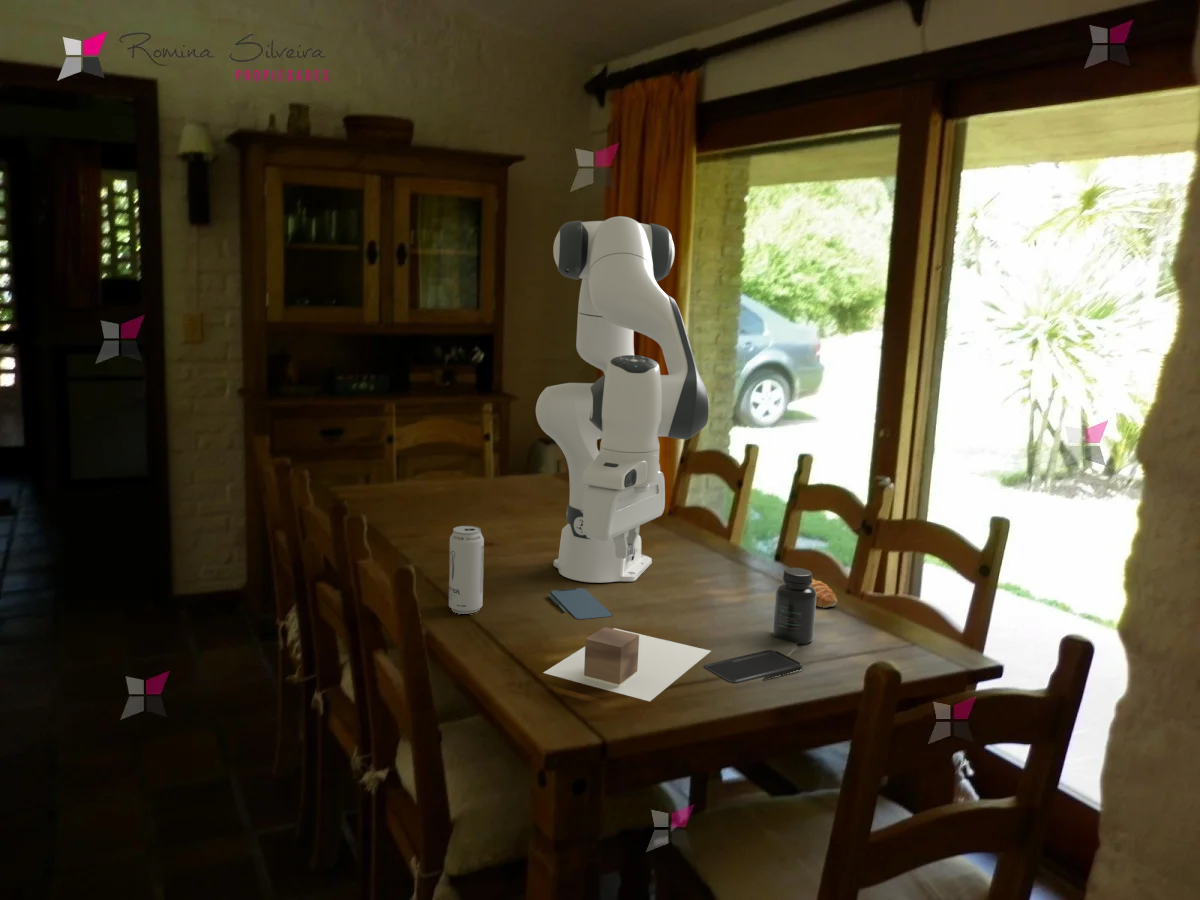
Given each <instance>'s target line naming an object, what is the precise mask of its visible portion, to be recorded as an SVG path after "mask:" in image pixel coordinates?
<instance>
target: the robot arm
mask: <svg viewBox="0 0 1200 900" xmlns="http://www.w3.org/2000/svg"><path fill="white" fill-rule="evenodd" d="M672 235H673V234H672V233H671V232H670V230H669V229H668V228H667V227H665V226H663V225H660V224H656V223H649V224H647V223H640V222H639V221H637V220H636V219H633V218H631V217H629V216H613V217H610V218H608V219H605V220H592V221H581V220H573V221H568V222H564V224H562V225H561V226H560V227H559V229H558V232H557V234H556V236H555V237H554V242H553V249H552V250H553V259H554V261H555V264H556V267H557V271H558V272H559V273H560V275H562V276H563V277H565V278H568V279H572V280H577V281H578V280H579V279H580V280H581V279H582V280H581V285H580V289H579V295H578V296H579V297H578V306H577V307H578V309H577V321H576V322H577V325H576V340H575V342H576V344H575V347H576V352H577V353H578V355H579V357H580V358H581V359H583V360H584V361H585V363H588V364H589V365H591V366H594V367H595V368H597V369H599V370H601V371H602V372H603V374H604V375H602V376H601V377H599V378H598V379H597V380H596V381H595V382H593V383H592V382H590V383H589V382H588V383H587V382H567V383H560V384H555V385H550V386H546V387H545V388H544V389H543V391H541V393H540V394H539V396H538V399H537V401H536V406H535V416H536V421H537V423H538V426H539V427H540V428H541V430H542V431H543V432H544V433H545V434H546V435H547V436H549V437H550V438H551V439H552V440H553V441H554V442H555V443H556V444H557V445H558V447H559V448H560V449H561V451H562V453H563V454H564V457H565V459H566V463H567V468H568V478H569V502H568V504H567V505H566V506H567V507H566V513H565V514H566V520H565V521H566V522H567V524H566V525H565V526H564V527H562V529H561V536H560V543H559V551H558V558H556V559H554V560H553V564H552V565H553V567H555V568H557V569H558V573H559V574H560V575H562V577H565V578H567V579H569V580H573V581H578V582H584V583H597V584H598V583H600V584H601V583H614V582H635V581H637V580H638V578H639V577H640V576H641V575H642V574H643V573H644V572H645V571H646V570H647V569H648V568H649V567H650V566H651V564H652V563H653V561H652V557H649V556H648V555H645V554H643V553H642V537H641V536H640V531H641V530H640V526H641V525H644V524H646V523H648V522H651V521H653V520H655V519H656V518H657V519H658V518H660V517H661V516H662V515H663V513H664V510H665V506H666V505H665V504H666V498H665V497H666V489H665V487H666V485H665V483H666V481H665V476H664V472H662V471H661V465H660V446H661V445H660V441H659V437H665V438H666V437H667V438H671V439H677V440H678V439H679V440H685V441H688V440H689V439H691V438H694V436H696V435H697V434H698V433H700V432H701V431H702V430H703V429H704V428H705V427H706V425H708V421H709V414H710V401H709V396H708V393H707V389H706V386H705V383H704V381H703V379H702V377H701V375H700V372H699V370H698V366H697V363H696V360H695V357H694V356H695V355H694V353H693V350H692V346H691V342H690V340H689V336H688V333H687V328H686V326H685V322H684V319H683V317H682V314H681V311H680V309H679V306H678V304H677V301H676V300H675V298H673V297H672V296H670V295H668V294H667V293H666V292H665V291H664V290H663V289H662V288H661V287H660V286H659V284H658V282H659V281H662V280H663V279H664V278H666V277H667V276H668V275H669V274H670V271H671V268H672V266H673V264H674V260H675V255H676V254H675V253H676V251H675V250H676V249H675V244H674V241H673V237H672ZM634 332H637V333H639V334H642V335H644V336H646V337H648V338H650V339H652V340H653V341H655V342H656V343H657V344H658V345H659V347H660V348H661V350H662V355H663V357H664V362H665V364H666V368H667V372H668V374H661V368H660V364H659V363H658V362H657V361H655V360H654V359H652V358H649V357H646V356H642V355H636V354H635V347H634V343H635V342H634V340H635V339H634V335H635V334H634ZM598 440H601V441H600V445H599V449H598Z"/></svg>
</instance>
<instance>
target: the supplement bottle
mask: <svg viewBox="0 0 1200 900" xmlns="http://www.w3.org/2000/svg"><path fill="white" fill-rule="evenodd" d="M812 579H813V573H812V571H810V570H809V569H805V568H803V567H802V568H801V567H788V568H785V569H783V575H782V582H783V583H781V584H779V585H778V586H777V588H776V589H775V590H776V591H775V600H774V601H775V602H774V612H773V614H774V615H773V624H772V626H773V627H772V628H773V629H772V634H773V636H774V637H775V638H777V639H779V640H781V641H784V642H790V643H796V645H797V646H801V645H800V644H804V645H808V644H810V643H811V642H812V641H813V639H814V631H815V618H816V608H817V607H816V596H817V594H816V591H815V589H814V588H813V587H811V586H810V585H811V584H812ZM809 642H810V643H809ZM807 643H808V644H807ZM798 644H799V645H798Z"/></svg>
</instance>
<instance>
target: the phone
mask: <svg viewBox="0 0 1200 900" xmlns="http://www.w3.org/2000/svg"><path fill="white" fill-rule="evenodd" d="M803 667H804V665H803V663H802V662H800V661H798V660H796V659H794V658H792V657H790V656H788V655H785V654H784V653H781V652H779V651H778V650H775V649H766V650H763V651H757V652H754V653H748V654H744V655H740V656H736V657H735V656H734V657H732V658H727V659H726V658H725V659H722V660H718V661H714V662H710V663H709V662H708V663H705V664H704V665H703V669H705V670H707V671H709V672H710V673H712V674H714V675H716V676H718V677H719V678H721V679H722V680H725V681H726V682H728V683H732V684H740V683H745V682H748V681H752V680H756V679H761V678H762V680H763V681H766V680H765V679H767V680H770V679H769V678H771V679H773V678H772V677H775V676H779V675H783V674H787V673H790V672H793V671H796V670H800V669H802V670H803ZM775 678H776V677H775Z"/></svg>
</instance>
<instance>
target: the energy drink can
mask: <svg viewBox="0 0 1200 900" xmlns="http://www.w3.org/2000/svg"><path fill="white" fill-rule="evenodd" d="M452 529H453V532H452V534H451V535H450V537H449V553H448V555H449V556H448V557H449V559H448V560H449V562H448V563H449V564H448V565H449V569H448V572H449V573H448V576H449V577H448V607H449V608H451V611H453V612H452V613H454V612H455V613H454V614H456V613H458V614H457V615H460V614H469V613H474V612H477V611H478V610H479V611H480V609H481V608H482V607H483V600H484V599H483V598H484V597H483V596H484V557H485V556H484V554H485V552H484V551H485V549H484V548H485V539H484V538H485V537H484V536H483V534H482V531H481V527H478V526H474V525H460V526H456V527H454V528H452ZM477 613H478V612H477Z"/></svg>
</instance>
